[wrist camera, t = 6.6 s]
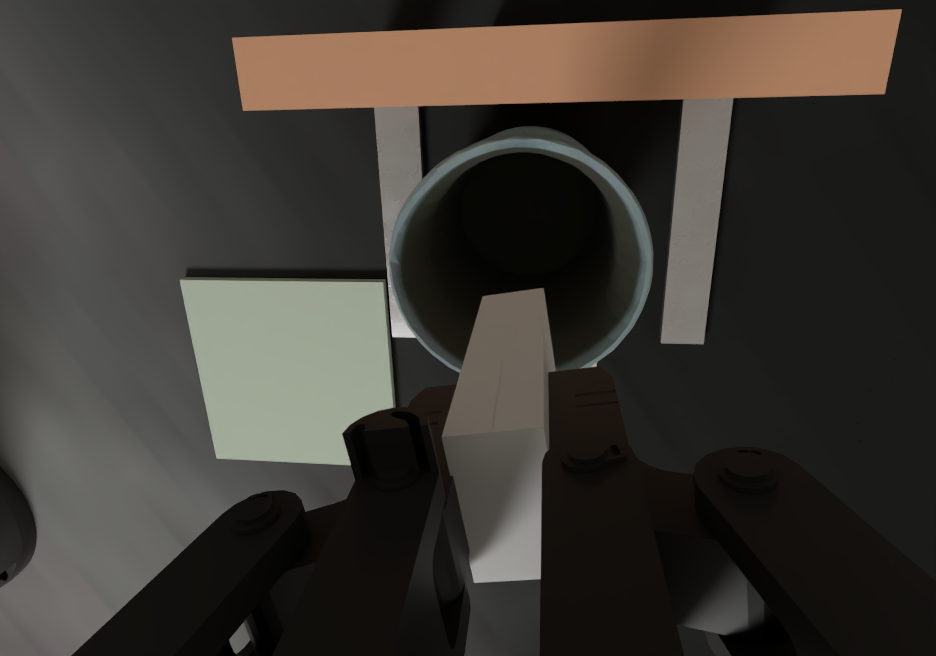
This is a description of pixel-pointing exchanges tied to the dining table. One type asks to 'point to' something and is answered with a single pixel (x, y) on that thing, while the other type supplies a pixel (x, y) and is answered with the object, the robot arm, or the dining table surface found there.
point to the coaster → (289, 363)
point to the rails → (689, 217)
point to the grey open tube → (522, 245)
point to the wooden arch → (572, 62)
